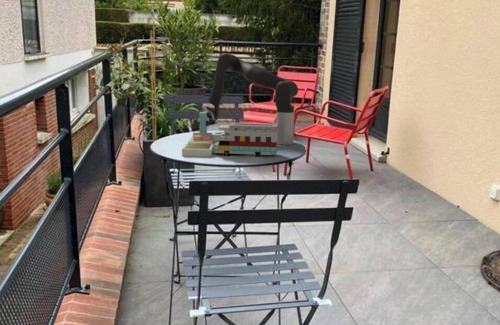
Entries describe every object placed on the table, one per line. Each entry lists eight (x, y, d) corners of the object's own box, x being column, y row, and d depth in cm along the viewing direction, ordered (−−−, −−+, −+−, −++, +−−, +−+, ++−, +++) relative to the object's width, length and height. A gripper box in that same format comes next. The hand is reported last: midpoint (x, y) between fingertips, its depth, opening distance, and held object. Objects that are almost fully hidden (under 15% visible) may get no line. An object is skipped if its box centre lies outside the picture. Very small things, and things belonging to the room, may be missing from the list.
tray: (185, 150, 247) (185, 144, 246) (213, 151, 247) (213, 144, 246) (182, 155, 237) (181, 149, 236) (211, 156, 236) (211, 149, 235)
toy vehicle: (215, 151, 246) (215, 121, 242) (276, 153, 243) (277, 123, 240) (213, 155, 238) (212, 124, 235) (275, 157, 236) (276, 126, 232)
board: (193, 142, 265) (193, 135, 264) (215, 143, 265) (215, 135, 264) (187, 150, 248) (187, 142, 247) (211, 150, 247) (211, 143, 246)
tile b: (194, 138, 256) (194, 134, 255) (201, 138, 256) (201, 135, 255) (193, 140, 252) (192, 136, 251) (200, 140, 252) (200, 136, 251)
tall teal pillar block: (194, 136, 262) (193, 111, 258) (213, 136, 261) (212, 112, 258) (193, 138, 257) (192, 113, 254) (212, 138, 257) (212, 113, 254)
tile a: (202, 138, 256) (202, 135, 255) (210, 139, 255) (210, 135, 255) (201, 140, 252) (201, 136, 251) (209, 140, 252) (209, 136, 251)
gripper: (193, 111, 271) (188, 116, 254) (219, 111, 271) (216, 117, 254) (193, 124, 273) (189, 130, 256) (219, 125, 273) (216, 131, 256)
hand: (202, 124), depth 255 cm, fingers closed on tall teal pillar block, 3 cm apart
